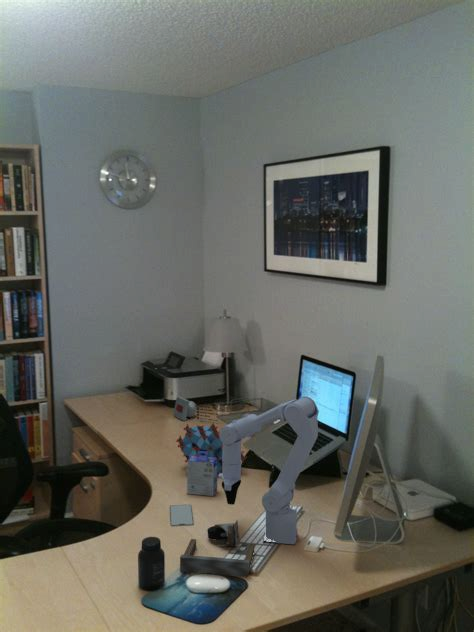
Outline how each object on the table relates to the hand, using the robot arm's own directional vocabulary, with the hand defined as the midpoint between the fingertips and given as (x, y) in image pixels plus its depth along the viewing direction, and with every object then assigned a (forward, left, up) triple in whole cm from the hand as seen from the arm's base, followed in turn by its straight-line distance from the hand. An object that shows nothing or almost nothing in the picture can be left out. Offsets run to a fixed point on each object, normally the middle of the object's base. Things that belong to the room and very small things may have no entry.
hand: (231, 503), depth 201 cm
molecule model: (+15, -44, -7) cm, 47 cm away
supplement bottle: (+15, +37, -7) cm, 41 cm away
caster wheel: (+1, +11, -7) cm, 13 cm away
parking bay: (0, +22, -7) cm, 23 cm away
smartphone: (+17, -4, -8) cm, 19 cm away
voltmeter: (+34, -107, -7) cm, 112 cm away
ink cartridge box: (+14, -23, -7) cm, 28 cm away
